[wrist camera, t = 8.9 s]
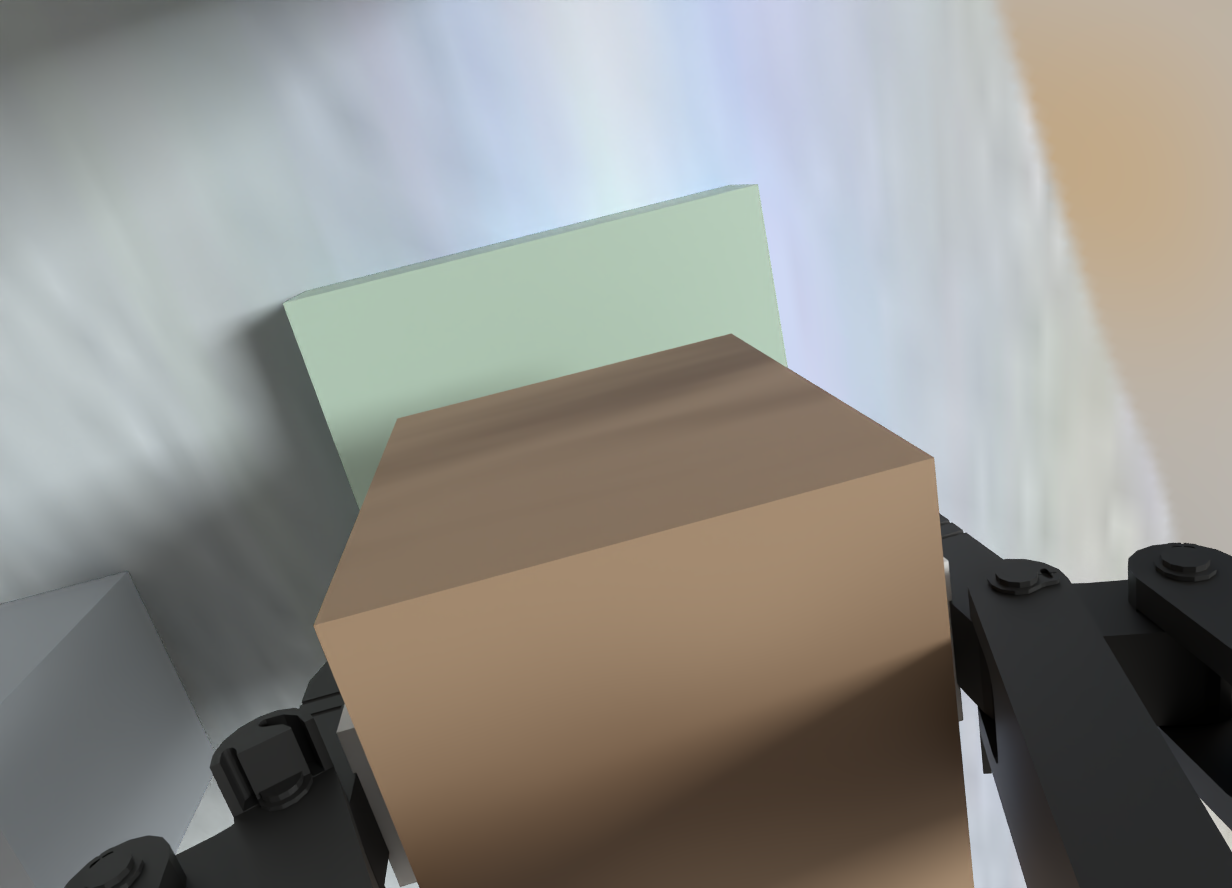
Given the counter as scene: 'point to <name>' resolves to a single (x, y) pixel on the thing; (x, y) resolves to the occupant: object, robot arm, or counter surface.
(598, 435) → the walnut block
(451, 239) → the counter surface
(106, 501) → the counter surface
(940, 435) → the counter surface
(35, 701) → the slate block
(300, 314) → the sage slab
